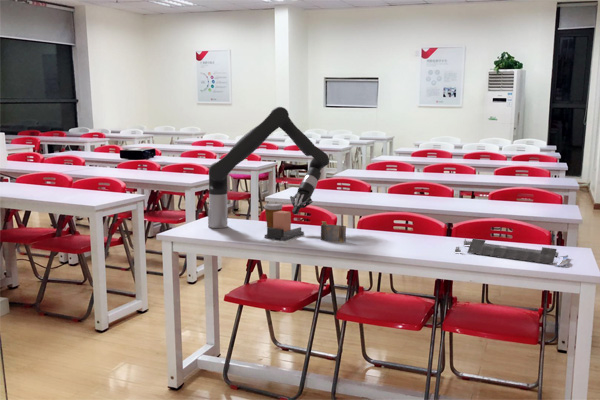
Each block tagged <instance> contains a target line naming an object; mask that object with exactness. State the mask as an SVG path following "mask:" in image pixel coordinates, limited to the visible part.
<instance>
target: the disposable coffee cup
mask: <svg viewBox="0 0 600 400" xmlns="http://www.w3.org/2000/svg"><path fill="white" fill-rule="evenodd" d="M263 207H264V210H265V220H266V221H265V222H266V228H269V227H271V228H273V212H277V211H283V210H282V209H283V204H282V203H279V202H269V203H268V202H267V203H264V206H263Z"/></svg>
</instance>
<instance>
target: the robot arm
mask: <svg viewBox="0 0 600 400" xmlns="http://www.w3.org/2000/svg"><path fill="white" fill-rule="evenodd" d="M279 128H280V129H281V130H282V131H283V132H284V133H285V134H286V135H287V136H288V137H289V138H290V139H291V140H292V142H293V143H294V144H295V145H296V147H297V148H298V149H299V150H300V151H301V152H302V153H303V155H305V156H306V157H312V159H311V161H310V162H309V165H308V170H307V172H306V174H305V176H304V177H303V178H302V180H301V183H300V185H299V187H298V188H297V192H296V193H295V194H294V195H293V196H292V195H290V197H289V198H290V201H291V205H292V206H293V207H292V210H291V211H292V212H291V213H292V214H293V215H298V214H299V212H300V210H301V209H305V208H306V207H308V206H309V205H311V204H312V203H314V202H313V199H312V198H311V197H312V196H313V194H314V192H315V190H316V188H317V185H318V182H319V180H320V178H321V174H322V172H321V170H322V169H323V168H325V167H327V166H328V165H329V163H330V158H329V156H328V154H327V153H326V152H324V151H323V150H322V149H320V148H319V147H318V146H316V145H315V144H314V142H312V141H311V140H310V139H309V137H308V136H307V135H306V134H304V132H302V131H301V130H300V129H299V128H298V127H297V126H296V125H295V123H294V122H293V121H292V119H291V118H290V115H289V111H288V110H287V109H286V108H285V107H283V106H275V108H273V109H272V110H271V111H270V113H269V115H267V116H266V117H265V118H264V120H262V121H261V122H260V123H258V125H256V126H255V127H253V128H252V129H250V130H249V131H248V132H247V133H245V135H242V137H241V138H240V139H239V140H238V141H237V142H236V143H235V144H234V145H233V146H232V147H231V149H230V150H229V151H228V152H227V153H226V155H224V156H223V157H222V158H221V159H219V160H218V161H216V162H214V163H212V164H211V165H210V166H209V168H208V200H209V201H208V202H209V203H208V208H207V209H208V210H207V219H208V220H207V224H208V228H212V229H224V228H227V227H228V175H229V174H230V173H231V172H232V170H233V169H234V168H236V166H238V165H239V164H240V163H242V162H243V161H244V160H246V158H248V157H249V156H250V155H252V154H253V153H254V152H255V151H256V150H257V149H258V148H260V146H261V145H263V143H264V142H266V140H267V138H269V136H270V135H271V134H273V133H274V132H275V131H277V129H279Z"/></svg>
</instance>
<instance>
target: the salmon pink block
mask: <svg viewBox="0 0 600 400" xmlns="http://www.w3.org/2000/svg"><path fill="white" fill-rule="evenodd" d="M291 215H292V212H291V211H285V210H281V211H277V212H273V228H279V229H284V232H285V231H288V230H292V227H291V226H292V221H291V219H292V218H291V217H292V216H291Z"/></svg>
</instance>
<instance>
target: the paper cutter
mask: <svg viewBox="0 0 600 400" xmlns="http://www.w3.org/2000/svg"><path fill="white" fill-rule="evenodd" d="M464 245H470V246H468V249H467V254H474V253H476V255H481V254H483V256H488V255H490V256H491V257H496V256H499V257H498V258H503V257H506V258H505V259H510V258H515V259H514V260H518V259H522V260H521V261H525V260H529V261H528V262H532V261H535V262H534V263H540V262H543V263H542V264H547V263H552V264H551V265H553V264H554V260H555V258H556V257H555V256H558V257H559V251H557V248H554V247H544V246H543V247H541V249H533V248H525V247H519V246H509V245H502V244H494V243H488V242H487V243H486V239H479V238H472V240H471V241H470V240H467V239H466V238H465V239H464V241H463V246H464ZM455 252H461V249H460V246H456V247H455V249H454V253H455ZM490 256H489V257H490ZM507 257H508V258H507ZM560 257H563V260H562V262H561V263H560V265H559V266H564V265H567V264H570V261H569V260H568V257H569V255H561V256H560Z"/></svg>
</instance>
